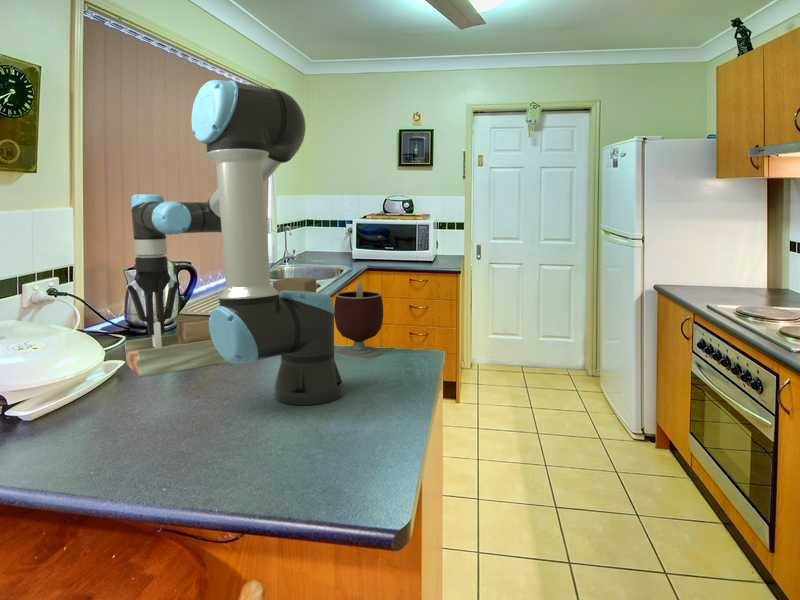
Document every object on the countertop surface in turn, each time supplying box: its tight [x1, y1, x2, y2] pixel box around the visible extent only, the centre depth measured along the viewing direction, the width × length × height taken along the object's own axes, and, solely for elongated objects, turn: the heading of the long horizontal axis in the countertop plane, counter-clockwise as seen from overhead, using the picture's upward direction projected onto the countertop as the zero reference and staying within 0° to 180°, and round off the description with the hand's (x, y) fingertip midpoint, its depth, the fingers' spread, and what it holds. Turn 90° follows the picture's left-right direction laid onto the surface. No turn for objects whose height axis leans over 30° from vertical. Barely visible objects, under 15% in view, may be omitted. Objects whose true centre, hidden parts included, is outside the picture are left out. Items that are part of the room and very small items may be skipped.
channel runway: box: [124, 333, 229, 378], centre depth 155 cm, size 14×34×6 cm, turn 129°
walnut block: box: [176, 317, 212, 345], centre depth 154 cm, size 7×7×7 cm
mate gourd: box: [333, 279, 384, 359], centre depth 163 cm, size 16×14×20 cm
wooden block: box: [272, 277, 317, 293], centre depth 171 cm, size 10×10×20 cm
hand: (157, 346), depth 148 cm, fingers closed
